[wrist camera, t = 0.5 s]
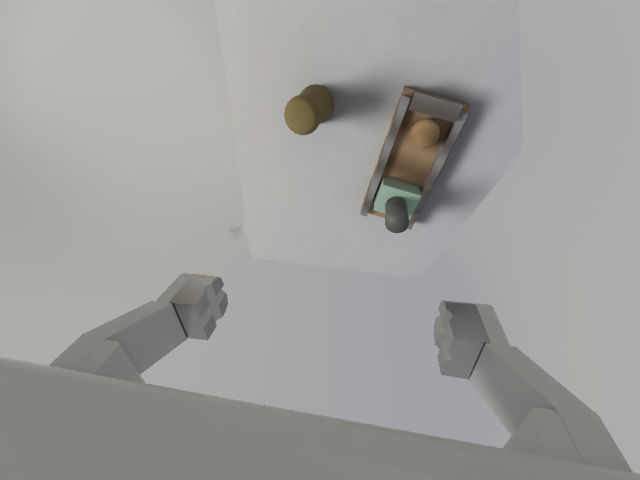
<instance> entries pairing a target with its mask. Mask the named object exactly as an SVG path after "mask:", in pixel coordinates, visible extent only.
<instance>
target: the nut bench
mask: <svg viewBox="0 0 640 480" xmlns="http://www.w3.org/2000/svg"><path fill="white" fill-rule="evenodd" d="M468 107H469V105H468V104H466V103H463V102H459V101H455V100H452V99H448V98H444V97H441V96H437V95H434V94H430V93H426V92H423V91H419V90H416V89H412V88H408V87H405V86H404V88H403V91H402V94H401V97H400V99H399V102H398V105H397V108H396V111H395V114H394V116H393V119H392V122H391V125H390V128H389V131H388V134H387V136H386V139H385V142H384V145H383V148H382V151H381V153H380V156H379V159H378V162H377V165H376V168H375V170H374V173H373V176H372V179H371V182H370V185H369V187H368V190H367V193H366V196H365V199H364V202H363V204H362V207H361V214H360V215H363V216H367V214H368V213H370V214H373V215H376V216H380V217H383V218H385V213H382V212H378V211H375V210H374V200H375V197H376V195H377V192H378V189H379V187H380V184H381V181H382V179H383V176H385V177H388V178H392V179H395V180H399V181H402V182H406V183H409V184H413V185H416V186H419V187H420V191H421V195H422V196H421V198H420V200H419V202H418V204H417V207H416V209H415V211H414V213H413V215H412V217H411V219H410V221H409V226H408V229H411V228H412V226H413V224H414V222H415V220H416V218H417V216H418V214H419V212H420V210H421V208H422V206H423V204H424V202H425V200H426V198H427V196H428V194H429V192H430V190H431V188H432V186H433V184H434V182H435V180H436V178H437V176H438V174H439V172H440V170H441V168H442V166H443V164H444V162H445V160H446V158H447V156H448V154H449V152H450V150H451V148H452V146H453V144H454V142H455V140H456V138H457V136H458V134H459V132H460V130H461V128H462V126H463V124H464V122H465V120H466V118H467V116H468V114H467V113H466V111H467V109H468ZM421 119H431V120H433V121H435V122H436V123H437V125H438V127H439V131H440V133H439V138H438V140H437V141H436V143H435V144H434V145H433V146H431V147H429V148H427V149H418V148H416V147H414V146H413V145H412V143H411V142H410V139H409V132H410V129H411V127H412V126H413V125H414V123H416V122H417V121H419V120H421Z"/></svg>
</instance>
